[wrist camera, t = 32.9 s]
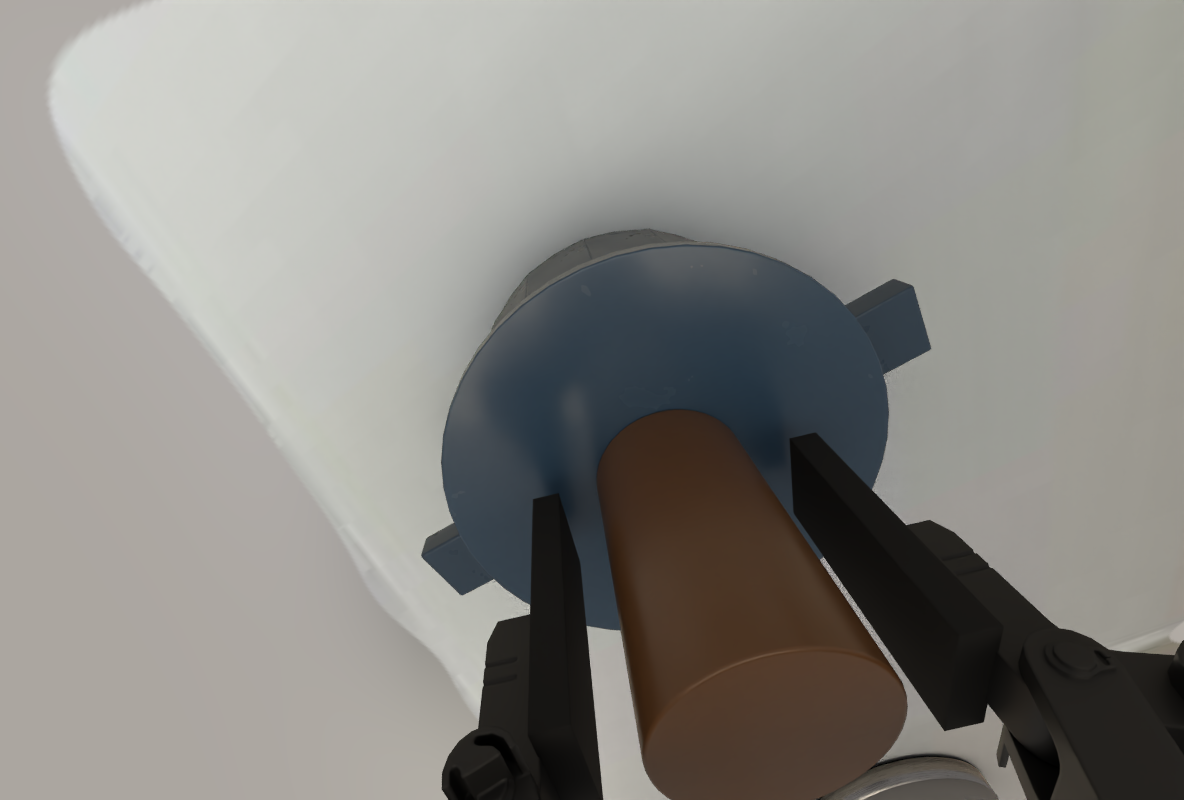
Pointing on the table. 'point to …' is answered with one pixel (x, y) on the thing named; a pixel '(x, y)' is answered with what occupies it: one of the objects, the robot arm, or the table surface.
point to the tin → (879, 312)
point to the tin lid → (689, 503)
